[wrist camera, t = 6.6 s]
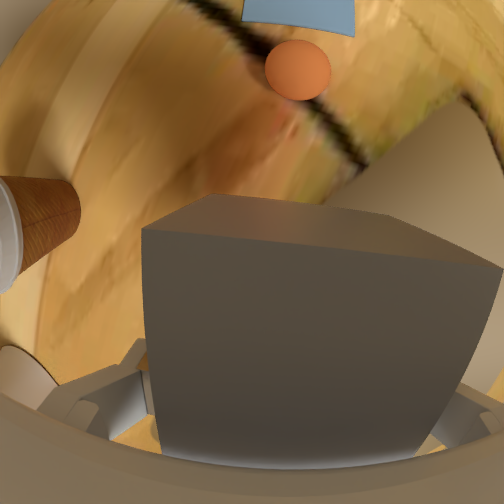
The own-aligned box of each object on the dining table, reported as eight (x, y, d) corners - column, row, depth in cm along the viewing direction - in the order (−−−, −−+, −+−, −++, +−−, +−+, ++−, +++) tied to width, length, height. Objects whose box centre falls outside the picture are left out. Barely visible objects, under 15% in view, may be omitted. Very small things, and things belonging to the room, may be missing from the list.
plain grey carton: (338, 403, 14) (365, 511, 7) (203, 394, 14) (175, 507, 7) (388, 214, 11) (503, 268, 4) (212, 193, 11) (141, 228, 4)
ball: (322, 110, 22) (336, 96, 17) (262, 102, 22) (261, 86, 17) (325, 58, 21) (339, 36, 16) (267, 50, 21) (268, 25, 16)
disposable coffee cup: (22, 233, 26) (-54, 265, 14) (40, 152, 24) (-47, 157, 12) (82, 270, 27) (5, 323, 15) (106, 182, 24) (15, 197, 13)
